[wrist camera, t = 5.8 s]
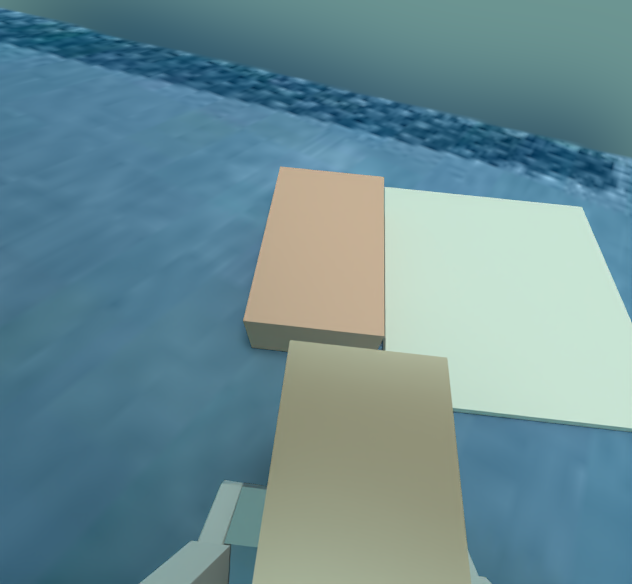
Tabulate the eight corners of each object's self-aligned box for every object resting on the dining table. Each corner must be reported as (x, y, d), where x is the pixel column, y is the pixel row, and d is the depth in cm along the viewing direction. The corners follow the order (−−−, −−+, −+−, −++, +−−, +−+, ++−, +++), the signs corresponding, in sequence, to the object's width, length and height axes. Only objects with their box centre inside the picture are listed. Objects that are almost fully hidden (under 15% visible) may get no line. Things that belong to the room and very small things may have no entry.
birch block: (345, 638, 12) (538, 1232, 2) (273, 628, 12) (161, 1170, 2) (353, 447, 15) (447, 357, 5) (296, 440, 15) (289, 340, 5)
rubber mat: (666, 435, 15) (679, 433, 15) (382, 403, 16) (385, 400, 15) (575, 213, 23) (581, 207, 22) (382, 193, 23) (384, 187, 23)
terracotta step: (371, 361, 17) (384, 336, 14) (251, 347, 17) (243, 320, 14) (374, 214, 22) (383, 177, 19) (282, 204, 22) (280, 166, 20)
